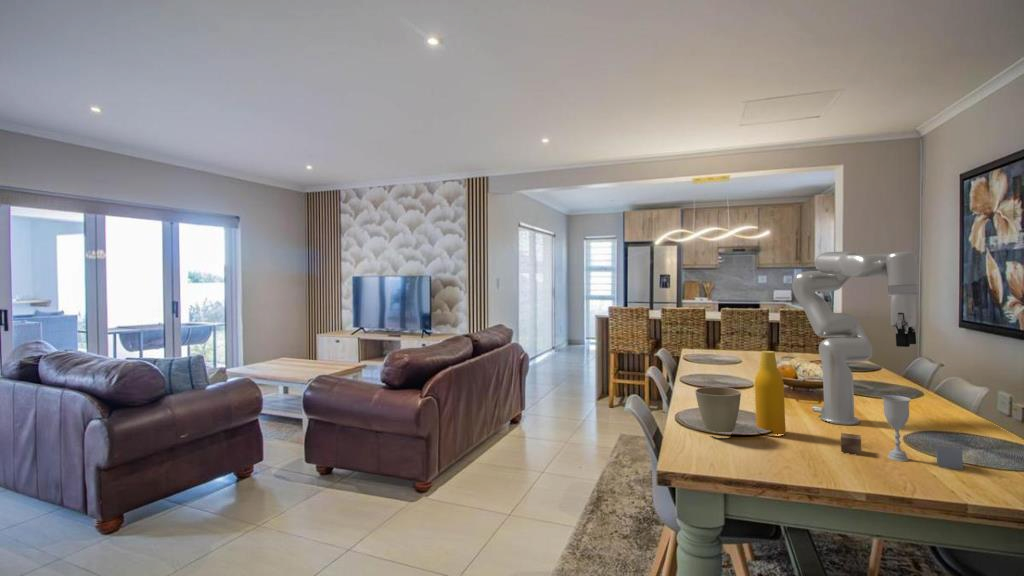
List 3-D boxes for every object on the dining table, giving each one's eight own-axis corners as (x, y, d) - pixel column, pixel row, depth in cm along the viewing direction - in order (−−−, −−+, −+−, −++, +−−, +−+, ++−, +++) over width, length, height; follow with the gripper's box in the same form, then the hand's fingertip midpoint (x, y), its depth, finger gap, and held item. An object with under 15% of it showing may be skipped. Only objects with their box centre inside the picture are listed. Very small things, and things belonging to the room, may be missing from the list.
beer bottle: (779, 438, 164) (776, 354, 165) (751, 433, 171) (748, 352, 171) (789, 432, 171) (786, 351, 171) (762, 427, 177) (759, 349, 178)
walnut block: (841, 453, 149) (840, 437, 149) (841, 448, 153) (841, 432, 153) (861, 455, 146) (860, 439, 146) (861, 451, 150) (860, 435, 150)
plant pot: (737, 430, 175) (735, 386, 175) (747, 443, 161) (745, 395, 161) (694, 429, 179) (692, 386, 179) (700, 441, 164) (698, 395, 164)
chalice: (918, 463, 139) (916, 401, 139) (892, 462, 140) (889, 400, 140) (903, 454, 146) (901, 395, 146) (878, 453, 147) (876, 395, 147)
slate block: (938, 467, 136) (938, 449, 136) (936, 461, 140) (936, 444, 140) (962, 470, 133) (962, 452, 133) (960, 464, 137) (959, 447, 137)
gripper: (894, 291, 160) (897, 342, 160) (881, 292, 149) (885, 347, 148) (923, 290, 155) (927, 343, 154) (912, 290, 143) (916, 348, 143)
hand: (906, 345), depth 151 cm, fingers open, 9 cm apart
